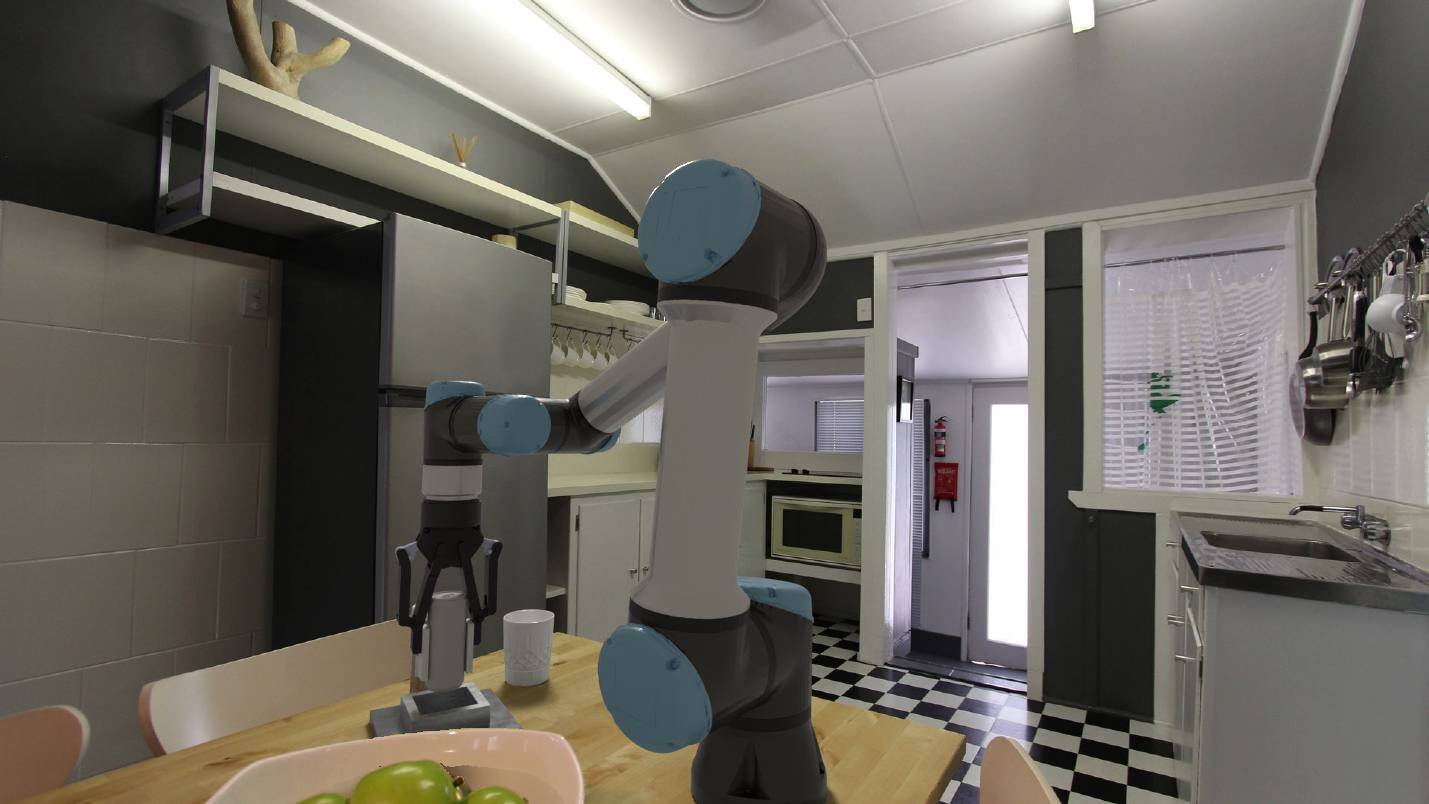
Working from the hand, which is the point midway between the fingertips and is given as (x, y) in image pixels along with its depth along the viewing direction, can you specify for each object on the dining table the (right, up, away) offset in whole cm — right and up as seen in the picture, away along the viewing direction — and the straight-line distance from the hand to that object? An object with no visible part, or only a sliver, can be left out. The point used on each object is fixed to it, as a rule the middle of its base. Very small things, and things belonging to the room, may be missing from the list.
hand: (445, 673), depth 89 cm
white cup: (+6, -9, +19) cm, 21 cm away
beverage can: (0, -2, 0) cm, 2 cm away
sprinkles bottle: (-8, -8, +11) cm, 16 cm away
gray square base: (0, -7, 0) cm, 7 cm away
